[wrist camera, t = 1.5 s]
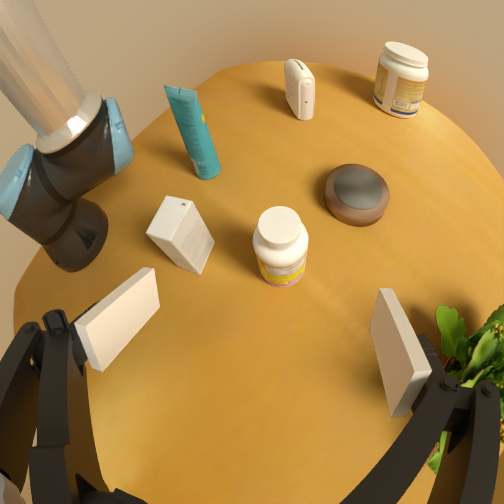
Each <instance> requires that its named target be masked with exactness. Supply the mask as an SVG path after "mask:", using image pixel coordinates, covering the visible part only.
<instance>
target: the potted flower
mask: <svg viewBox="0 0 504 504" xmlns="http://www.w3.org/2000/svg"><path fill="white" fill-rule="evenodd" d="M435 316H436V318H437V319H436V321H437V326H438V328H439V330H440V332H441V343H442V347H441V351H442V354H445V356H447V357H448V358H449V359H448V360H447V361H446V363H445V364H444V366H443V367H444V369H445V372H446V374H449V375H452V376H454V377H456V378H457V379H458V381H459V382H460V384H461V386H463V387H470V388H475V387H476V385H477V384H478V382H479V381H481V380H489V381H492V382H493V383H495V384H496V385H497V387H498V388H499V392H500V408H501V431H500V443H501V442H502V443H504V304H503V305H501V306H499V308H498V309H497V310H495V311H494V312H493V313H492V314H491V316H490V317H489V318H488V319H487V322H486V323H485V324H484V326H483V327H482V328H480V329H479V330H478V331H475V332H474V333H473V334H472V335H470V336H469V337H468V339H467V337H465V335H466V332H467V331H466V328H467V325H466V324H465V325H463V324H464V322H465V321H464V318H463V317H462V318H460V319H458V316H459V315H458V312H457V310H456V309H455V308H454V307H452V308H451V309H449V308H448V307H447V306H446V305H440V306H438V308H437V310H436V315H435ZM466 339H467V340H466ZM446 436H447V432H446V431H442V433H441V435H440V437H439V439H438V441H437V442H440V447H439V449H438V450H437V452H436V453H435V454H434V455H433V456H432V457H431V458H430V459H429V461H428V462H427V463H428V465H429V467H430V468H431V469H432V470H433V472H434V473H435V474H436V475H437V472H438V469H439V465H440V462H441V458H442V454H443V450H444V445H445V441H446Z"/></svg>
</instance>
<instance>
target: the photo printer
mask: <svg viewBox="0 0 504 504" xmlns="http://www.w3.org/2000/svg"><path fill="white" fill-rule="evenodd" d="M284 72H285V91H286V100H287V102H288V104H289V106H290V107H291V109H292V111H293V112H294V114H295V116H296V117H297V118H298V119H300V120H309V119H311V118H312V117H313V116H314V101H315V80H314V77H313V75H312V73H311V72H310V70H309V69H308V68H307V67H306V65H305V64H304V63H302V62H301V61H299V60H297V59H289V60H287V61H286V62H285V64H284Z"/></svg>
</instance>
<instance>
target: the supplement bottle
mask: <svg viewBox="0 0 504 504" xmlns="http://www.w3.org/2000/svg"><path fill="white" fill-rule="evenodd" d="M253 246H254V250H255V254H256V257H257V261H258V264H259V268H260V271H261V274H262V276H263V277H264V279H265V280H266V281H267V282H268V283H270V284H272V285H274V286H277V287H286V286H290V285H292V284H294V283H296V282H297V281H298V280H299V279H300V278H301V276H302V275H303V272H304V268H305V262H306V254H307V247H308V233H307V231H306V228H305V227H304V225H303V224H302V223H301V221H300V218H299V216H298V214H297V213H296V212H295V211H294V210H292V209H290V208H288V207H284V206H276V207H272V208H269V209H267V210H266V211H265V212H263V213H262V215H261V216H260V218H259V221H258V226H257V227H256V229H255V231H254V235H253Z"/></svg>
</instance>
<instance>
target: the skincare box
mask: <svg viewBox="0 0 504 504" xmlns="http://www.w3.org/2000/svg"><path fill="white" fill-rule="evenodd" d="M146 234H147V235H148V236H149V237H150V238H151V239H152V240H153V241H154V242H155V243H156V244H157V245H158V246H159V248H160V249H161V250H162V251H163V252H164V253H165V254H166V255H167V256H168V257H169V258H170V259H171V260H172V261H173V262H174V263H175V264H176V265H177V266H178V267H180V268H182V269H185V270H188V271H190V272H193V273H196V274H199V275H201V273H202V270H203V268H204V266H205V264H206V262H207V259H208V257H209V255H210V253H211V251H212V248H213V246H214V244H215V241H214V239H213V238H212V236H211V234H210V232H209V230H208V229H207V227H206V225H205V223H204V221H203V220H202V218H201V216H200V214H199V212H198V211H197V209H196V207H195V205H194V203H193V201H191V200H185V199H181V198H176V197H172V196H166V197H165V199H164V201H163V202H162V204H161V206H160V208H159V209H158V211H157V213H156V215H155V217H154V219H153V220H152V222H151V224H150V226H149V228H148V230H147V231H146Z"/></svg>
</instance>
